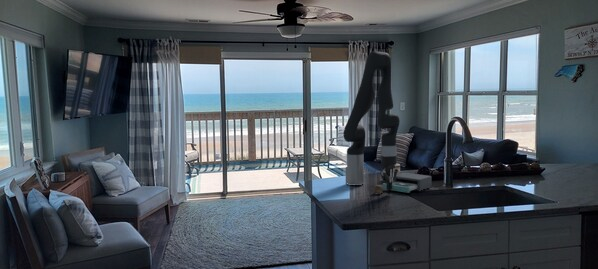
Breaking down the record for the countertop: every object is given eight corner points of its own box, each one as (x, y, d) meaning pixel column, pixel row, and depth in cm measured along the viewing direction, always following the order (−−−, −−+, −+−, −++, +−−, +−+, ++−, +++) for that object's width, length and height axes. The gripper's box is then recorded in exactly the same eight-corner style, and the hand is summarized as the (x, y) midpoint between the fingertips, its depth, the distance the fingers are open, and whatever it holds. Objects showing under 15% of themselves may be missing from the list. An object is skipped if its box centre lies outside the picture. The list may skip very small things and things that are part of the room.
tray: (382, 188, 216) (382, 183, 216) (395, 184, 224) (395, 180, 224) (408, 192, 205) (408, 187, 205) (420, 188, 214) (420, 183, 213)
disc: (392, 187, 215) (392, 183, 214) (399, 185, 219) (399, 181, 219) (403, 189, 210) (403, 185, 210) (409, 187, 214) (409, 183, 214)
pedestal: (372, 193, 209) (372, 185, 209) (377, 192, 212) (377, 184, 211) (379, 194, 206) (379, 187, 206) (383, 193, 209) (383, 185, 209)
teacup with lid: (381, 179, 245) (381, 159, 244) (395, 178, 248) (394, 158, 247) (392, 183, 233) (392, 162, 232) (406, 181, 236) (406, 161, 235)
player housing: (392, 186, 224) (392, 175, 223) (404, 183, 232) (404, 172, 232) (420, 191, 212) (420, 179, 212) (431, 187, 221) (431, 176, 220)
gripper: (389, 152, 212) (390, 186, 213) (374, 155, 203) (375, 190, 204) (402, 153, 207) (403, 188, 208) (388, 156, 197) (388, 192, 199)
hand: (389, 189), depth 206 cm, fingers closed
